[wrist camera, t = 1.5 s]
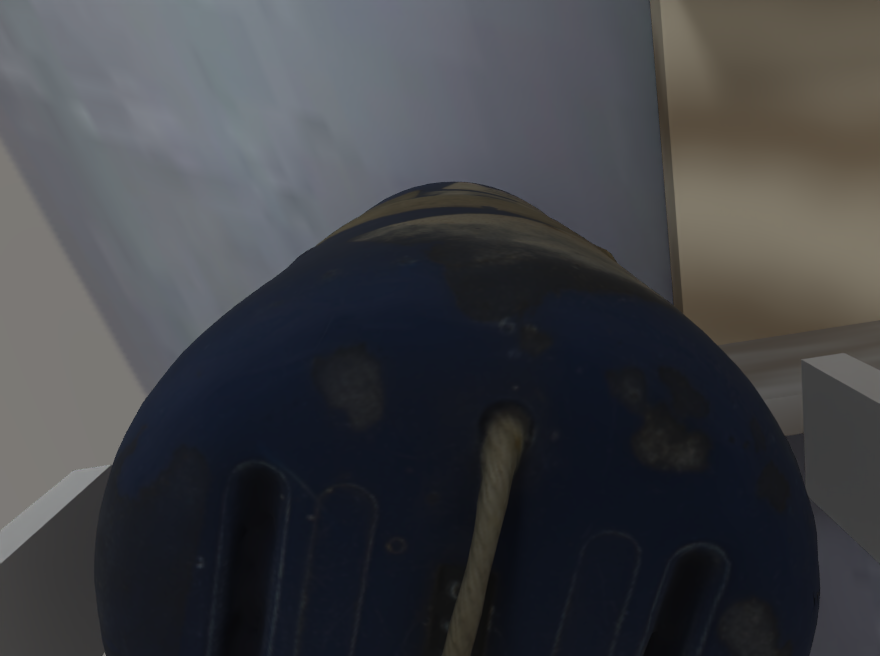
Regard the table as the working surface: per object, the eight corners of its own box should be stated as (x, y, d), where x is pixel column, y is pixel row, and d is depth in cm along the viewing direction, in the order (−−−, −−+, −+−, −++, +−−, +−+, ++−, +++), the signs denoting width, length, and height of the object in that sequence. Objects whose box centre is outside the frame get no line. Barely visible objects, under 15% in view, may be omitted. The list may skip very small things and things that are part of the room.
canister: (630, 250, 23) (1161, 536, 6) (510, 468, 26) (643, 1137, 8) (384, 131, 22) (162, 62, 5) (283, 369, 25) (-110, 890, 7)
